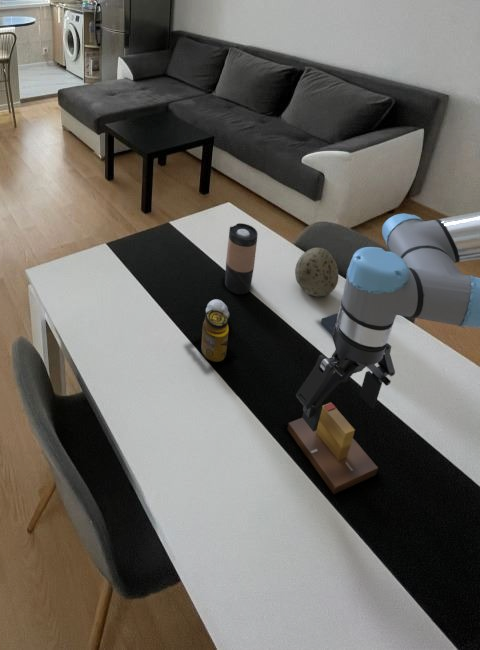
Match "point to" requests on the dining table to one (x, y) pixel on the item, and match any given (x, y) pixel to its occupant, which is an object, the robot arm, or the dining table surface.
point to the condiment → (215, 335)
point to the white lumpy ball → (217, 307)
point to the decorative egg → (317, 272)
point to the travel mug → (240, 258)
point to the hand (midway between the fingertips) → (338, 412)
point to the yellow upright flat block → (335, 431)
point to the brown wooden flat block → (332, 458)
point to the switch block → (329, 323)
